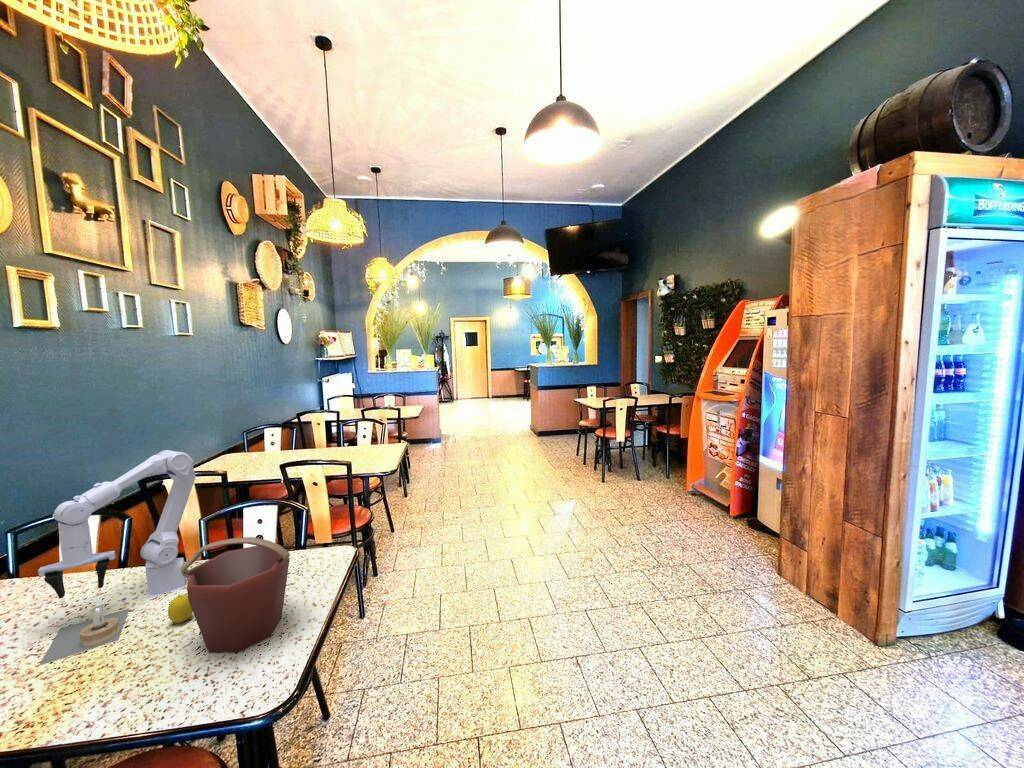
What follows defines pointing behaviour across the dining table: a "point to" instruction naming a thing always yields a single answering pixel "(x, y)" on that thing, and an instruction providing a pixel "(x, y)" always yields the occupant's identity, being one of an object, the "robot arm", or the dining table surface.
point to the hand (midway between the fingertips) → (82, 591)
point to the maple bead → (99, 633)
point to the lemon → (179, 609)
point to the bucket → (238, 593)
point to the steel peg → (98, 618)
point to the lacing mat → (77, 638)
